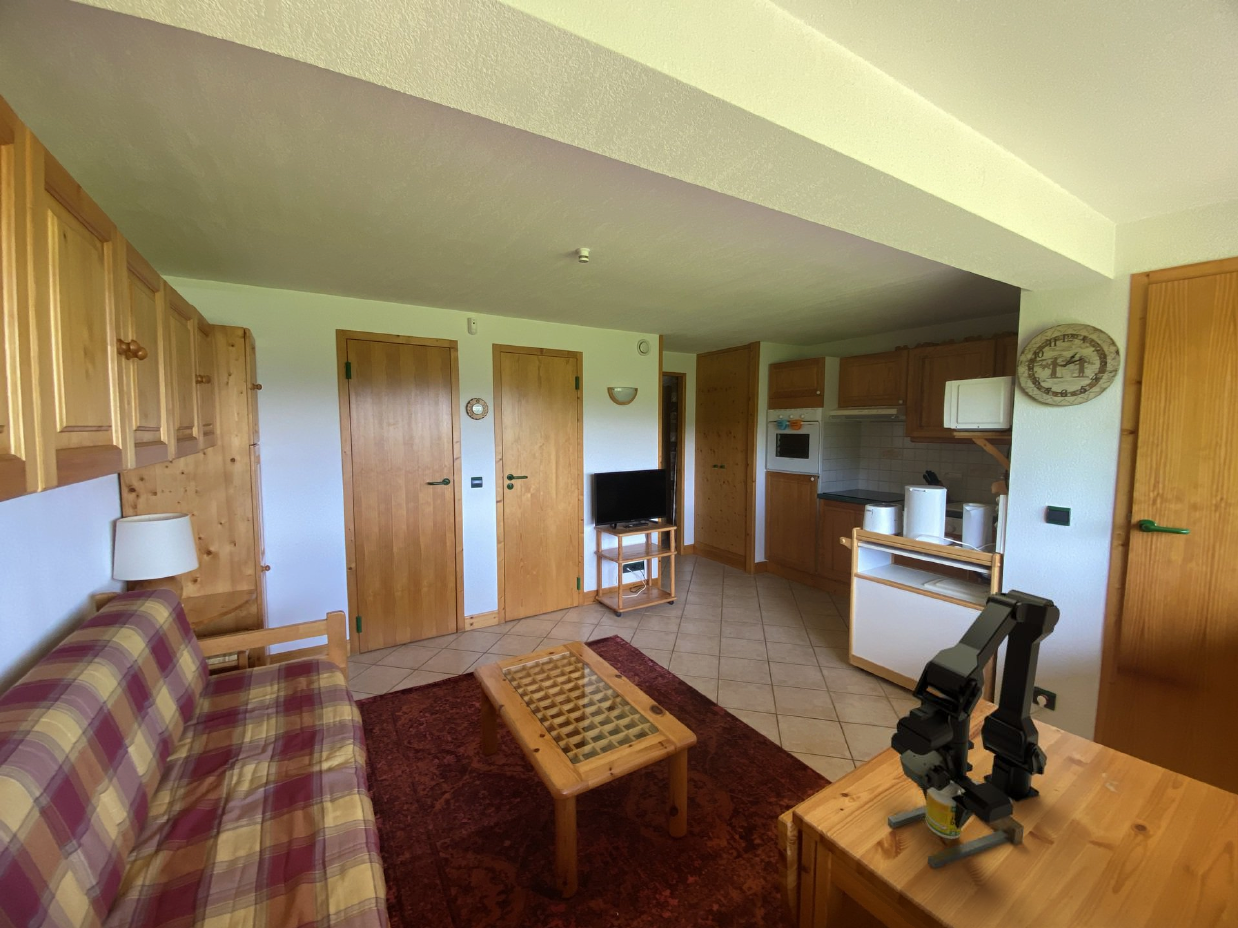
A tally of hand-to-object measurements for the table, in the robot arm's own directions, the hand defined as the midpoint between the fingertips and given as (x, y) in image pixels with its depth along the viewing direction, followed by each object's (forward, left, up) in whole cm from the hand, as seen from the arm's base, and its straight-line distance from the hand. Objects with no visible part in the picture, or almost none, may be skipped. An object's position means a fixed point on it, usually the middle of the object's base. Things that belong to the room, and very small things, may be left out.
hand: (943, 813), depth 87 cm
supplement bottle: (0, 0, -3) cm, 3 cm away
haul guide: (-2, 0, -4) cm, 4 cm away
